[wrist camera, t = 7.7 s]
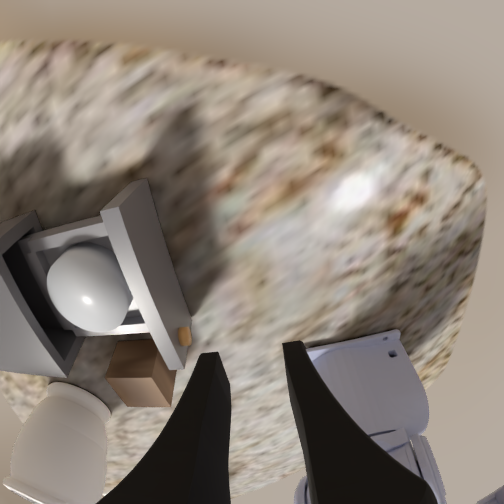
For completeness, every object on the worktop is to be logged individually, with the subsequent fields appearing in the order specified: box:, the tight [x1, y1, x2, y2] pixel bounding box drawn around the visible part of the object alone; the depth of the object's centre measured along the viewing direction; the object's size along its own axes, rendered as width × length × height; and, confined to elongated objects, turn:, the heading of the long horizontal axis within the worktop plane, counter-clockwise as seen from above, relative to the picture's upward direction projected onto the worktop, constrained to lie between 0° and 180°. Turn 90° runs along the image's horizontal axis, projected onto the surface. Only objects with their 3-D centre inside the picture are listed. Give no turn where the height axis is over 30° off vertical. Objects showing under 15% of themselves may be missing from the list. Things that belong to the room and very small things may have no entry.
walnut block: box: [105, 339, 177, 407], centre depth 22 cm, size 4×4×4 cm
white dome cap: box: [47, 242, 133, 333], centre depth 17 cm, size 6×6×2 cm
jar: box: [3, 382, 111, 504], centre depth 21 cm, size 11×10×15 cm
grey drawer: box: [18, 178, 192, 370], centre depth 17 cm, size 11×11×5 cm
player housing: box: [0, 210, 86, 378], centre depth 17 cm, size 10×11×6 cm
